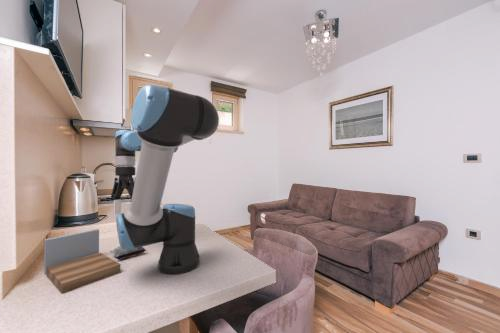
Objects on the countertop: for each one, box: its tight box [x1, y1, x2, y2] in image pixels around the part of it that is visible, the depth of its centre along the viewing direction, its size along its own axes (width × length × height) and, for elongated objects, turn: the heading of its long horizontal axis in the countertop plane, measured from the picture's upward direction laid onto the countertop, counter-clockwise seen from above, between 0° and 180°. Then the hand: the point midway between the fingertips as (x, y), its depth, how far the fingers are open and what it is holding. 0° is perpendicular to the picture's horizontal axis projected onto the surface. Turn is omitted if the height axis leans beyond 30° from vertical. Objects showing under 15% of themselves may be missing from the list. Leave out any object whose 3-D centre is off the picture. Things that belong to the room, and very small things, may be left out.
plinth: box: [46, 252, 121, 295], centre depth 74 cm, size 18×16×3 cm
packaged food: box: [109, 245, 147, 260], centre depth 91 cm, size 9×12×5 cm
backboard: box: [43, 228, 100, 276], centre depth 81 cm, size 2×16×12 cm, turn 144°
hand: (125, 215), depth 91 cm, fingers open, 13 cm apart
